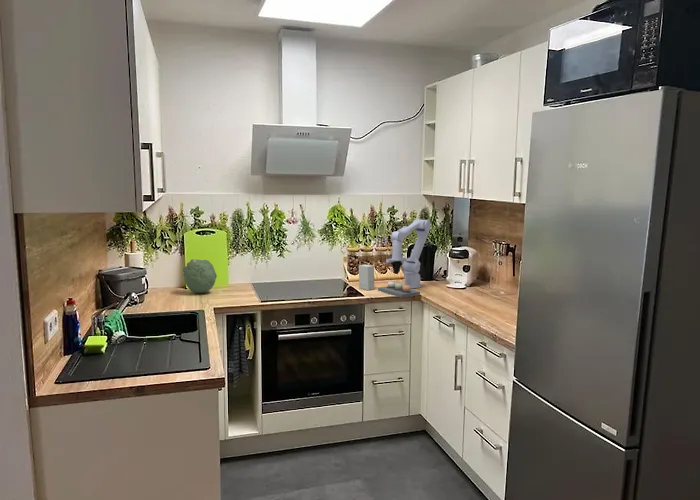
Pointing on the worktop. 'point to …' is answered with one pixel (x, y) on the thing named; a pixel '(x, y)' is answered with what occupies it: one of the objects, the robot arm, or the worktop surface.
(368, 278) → the skincare box
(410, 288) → the robot arm
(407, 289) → the button terracotta
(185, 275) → the cabbage
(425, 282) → the worktop surface
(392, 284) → the button cream
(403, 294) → the panel
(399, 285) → the button sage
